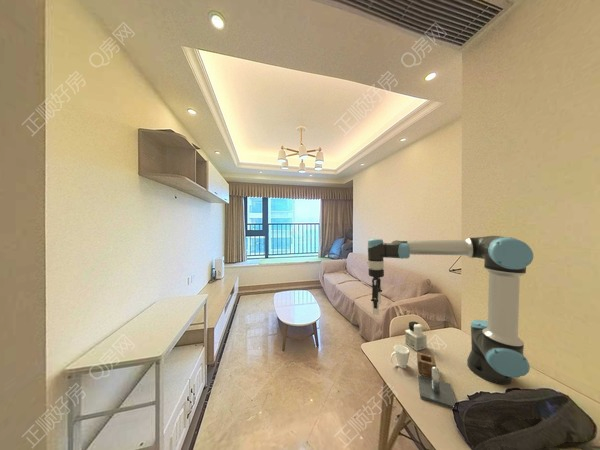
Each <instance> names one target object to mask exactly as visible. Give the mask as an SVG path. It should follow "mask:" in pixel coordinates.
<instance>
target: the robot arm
mask: <svg viewBox="0 0 600 450" xmlns="http://www.w3.org/2000/svg"><path fill="white" fill-rule="evenodd" d="M412 255H413V256H415V255H418V256H419V255H420V256H421V255H423V256H424V255H425V256H467V257H468V258H470V259H471V258H472V259H473V258H474V259H476V258H477V259H483V260H484V265H483V268H484V270H486V271H487V272H488V295H487V296H488V297H487V300H488V301H487V320H483V319H472V320H471V323H470V341H471V350H470V352H469V354H468V357H467V360H466V363H467V366H468V368H469V370H470V371H472V372H473V373H474V374H475V375H477V376H479V377H480V378H482V379H484V380H486V381H487V382H488V381H489V382H492V383H494V384H497V385H498V384H499V385H510V384H511V383H513V378H520V377H525V376H526V375H528V373H529V372H530V368H531V367H530V363H529V360H528V359H527V357H525V355H524V347H525V345H524V344H525V343H524V341H523V340H522V339H521V338H520V336H519V312H520V311H519V309H520V283H521V282H520V281H521V279H520V278H521V276H525V275H526V274H527V267H528V266H529V265H530V264H532V262H533V260H534V252H533V250H532V248H531V247H530V245H529V244H527V243H526V242H524V241H522V240H520V239H517V238H514V237H509V236H501V235H487V236H478V237H466V238H465V239H450V240H449V239H447V240H444V239H443V240H442V239H441V240H438V239H436V240H434V239H433V240H393V241H392V242H384V240H383V239H382V238H369V239H368V240H367V260H368V261H367V262H366V263H367V264H368V275H369V277H372V279H371V284H372V285H371V287H372V288H371V289H372V292H371V293H372V294H371V299H370V301H371V302H372V314H373V315H376V316H380V305H382V292H383V290H382V286H381V285H382V284H381V283H382V282H381V281H382V280H381V278H383V277H384V276H385V269H384V268H385V264H384V263H385V262H384V261H385V260H384V258H385V259H386V258H387V259H388V258H389V259H410V256H412Z"/></svg>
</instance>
